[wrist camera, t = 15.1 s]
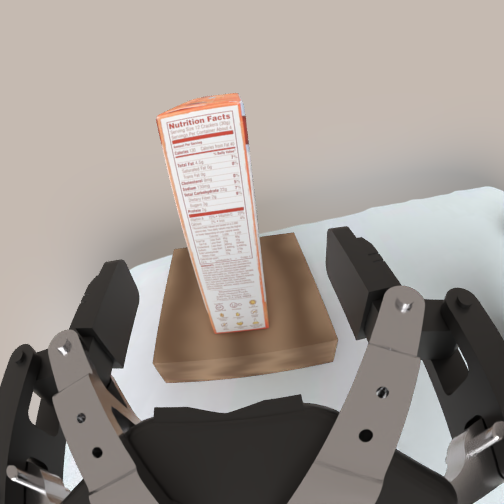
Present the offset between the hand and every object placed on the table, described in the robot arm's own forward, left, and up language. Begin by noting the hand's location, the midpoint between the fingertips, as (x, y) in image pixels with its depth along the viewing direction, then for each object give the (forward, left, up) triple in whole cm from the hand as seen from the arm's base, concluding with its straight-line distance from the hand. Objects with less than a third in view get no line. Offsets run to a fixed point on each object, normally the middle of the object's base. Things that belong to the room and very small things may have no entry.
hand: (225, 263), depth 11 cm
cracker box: (+1, -16, -16) cm, 22 cm away
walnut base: (+1, -16, -19) cm, 25 cm away
